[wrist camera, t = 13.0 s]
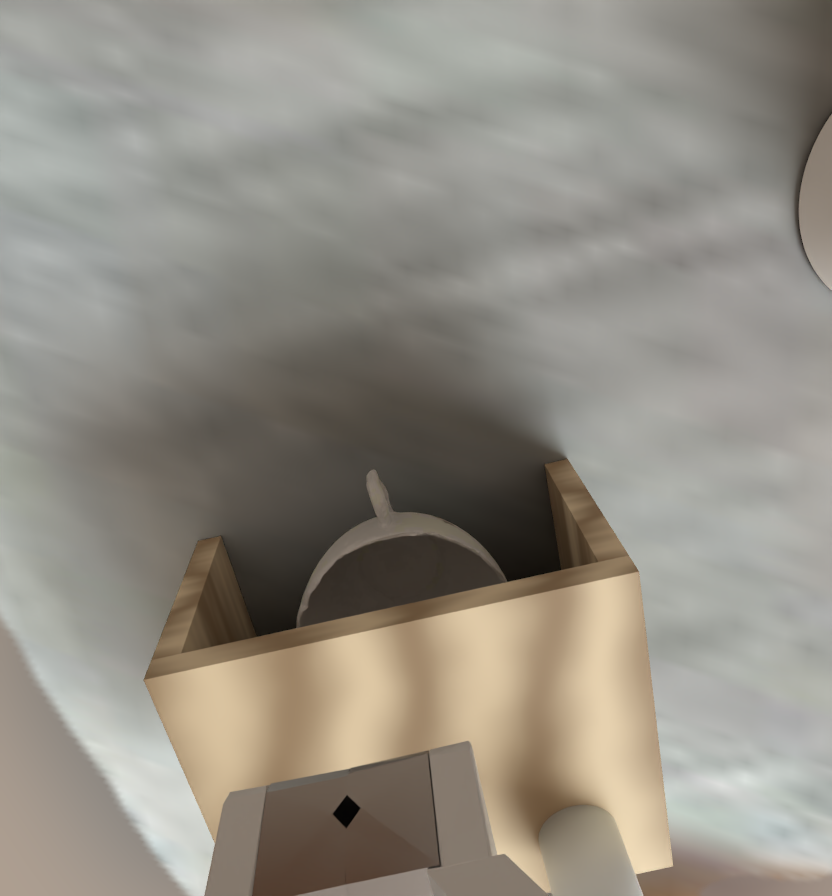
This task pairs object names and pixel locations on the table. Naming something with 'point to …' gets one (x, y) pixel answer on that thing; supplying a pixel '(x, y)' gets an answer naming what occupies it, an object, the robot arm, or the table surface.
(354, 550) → the teacup
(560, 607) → the wooden bridge shelf
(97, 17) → the table surface
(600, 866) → the rounded upright piece
